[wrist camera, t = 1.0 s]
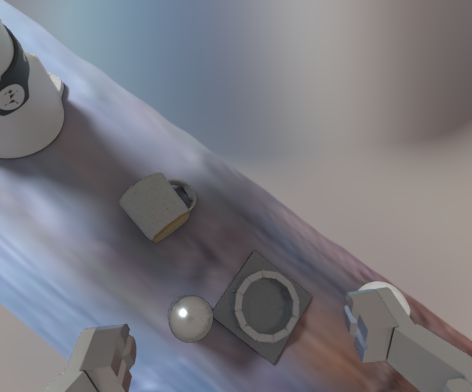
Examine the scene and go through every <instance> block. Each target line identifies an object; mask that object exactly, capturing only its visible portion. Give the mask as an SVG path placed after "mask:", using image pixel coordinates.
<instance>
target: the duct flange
mask: <svg viewBox="0 0 472 392" xmlns="http://www.w3.org/2000/svg"><path fill="white" fill-rule="evenodd" d="M311 298H312V295H311V294H309V293H308V292H307V291H305V290H304V289H303V288H302V287H300V286H299V285H298V284H297V283H295V282H294V281H293V280H292V279H290V278H289V277H288V276H286V275H285V274H284V273H283V272H281V271H280V270H279V269H278V268H276V267H275V266H274V265H272V264H271V263H270V262H269V261H267V260H266V259H265V258H264V257H262V256H261V255H260V254H259V253H257V252H256V251H253V253H252V254H251V255H250V257H249V258H248V260H247V261H246V263H245V264H244V265H243V267H242V268H241V270H240V271H239V273H238V274H237V276H236V277H235V278H234V280H233V281H232V283H231V284H230V286H229V287H228V289H227V290H226V291H225V293H224V294H223V296H222V297H221V299H220V300H219V301H218V303H217V304H216V306H215V307H214V309H213V310H212V312H213V318H215V319H216V320H217V321H219V322H220V323H221V324H222V325H224V326H225V327H226V328H227V329H229V330H230V331H231V332H232V333H234V334H235V335H236V336H238V337H239V338H240V339H241V340H243V341H244V342H245V343H246V344H248V345H249V346H250V347H251V348H253V349H254V350H255V351H256V352H258V353H259V354H260V355H262V356H263V357H264V358H265V359H267V360H268V361H269V362H270V363H272V364H273V365H274V363H275V362H276V360H277V358H278V356H279V354H280V353H281V351H282V349H283V347H284V346H285V344H286V342H287V340H288V339H289V337H290V335H291V333H292V331H293V330H294V328H295V326H296V324H297V323H298V321H299V319H300V317H301V315H302V314H303V312H304V310H305V308H306V307H307V305H308V303H309V301H310V300H311Z"/></svg>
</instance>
